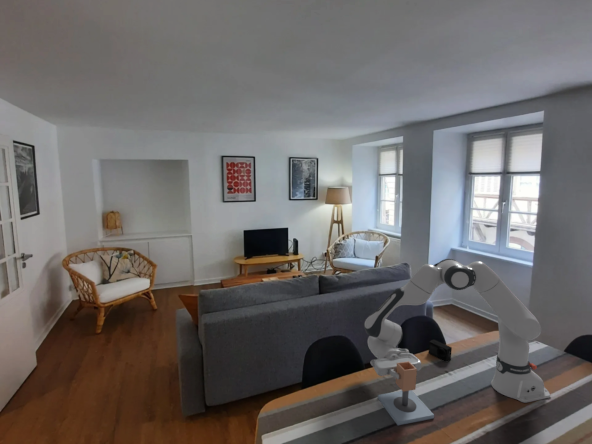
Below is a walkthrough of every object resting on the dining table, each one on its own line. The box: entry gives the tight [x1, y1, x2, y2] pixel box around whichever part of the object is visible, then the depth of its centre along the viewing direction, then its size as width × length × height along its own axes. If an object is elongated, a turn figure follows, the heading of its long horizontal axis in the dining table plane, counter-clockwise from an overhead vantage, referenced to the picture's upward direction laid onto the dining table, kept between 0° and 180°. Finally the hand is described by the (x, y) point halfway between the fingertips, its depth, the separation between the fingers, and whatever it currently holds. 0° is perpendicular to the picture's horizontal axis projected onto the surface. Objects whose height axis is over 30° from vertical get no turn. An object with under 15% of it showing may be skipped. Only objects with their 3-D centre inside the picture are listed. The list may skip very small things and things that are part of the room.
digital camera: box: [428, 339, 452, 363], centre depth 174 cm, size 10×5×7 cm, turn 35°
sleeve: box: [395, 361, 418, 392], centre depth 134 cm, size 6×6×9 cm
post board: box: [377, 390, 435, 426], centre depth 135 cm, size 16×16×12 cm
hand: (407, 376), depth 133 cm, fingers closed on sleeve, 6 cm apart
